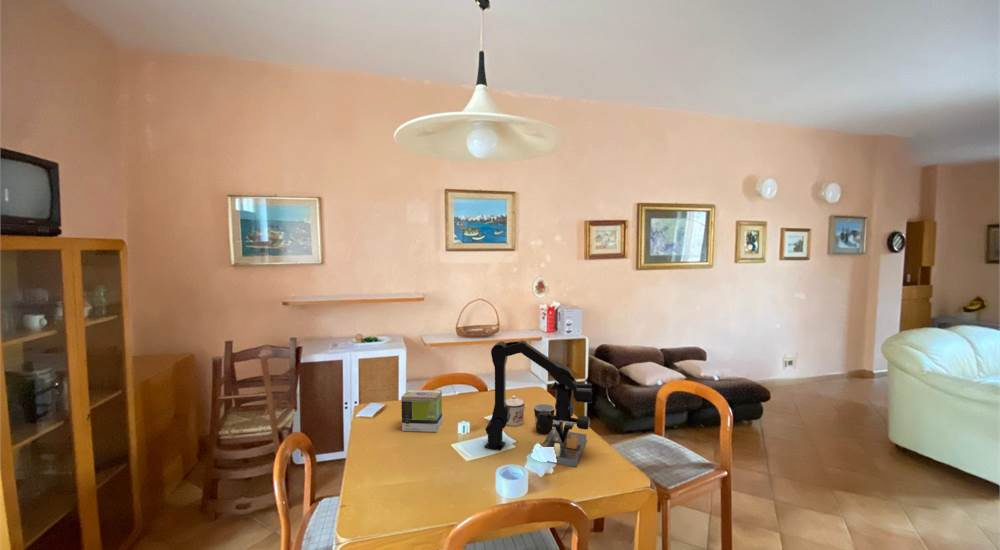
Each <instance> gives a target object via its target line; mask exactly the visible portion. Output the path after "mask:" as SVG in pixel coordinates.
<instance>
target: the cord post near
mask: <svg viewBox="0 0 1000 550" xmlns="http://www.w3.org/2000/svg"><path fill="white" fill-rule="evenodd" d="M554 450H555V454H556V457H559V456H560V444H559V443H555V444H554Z"/></svg>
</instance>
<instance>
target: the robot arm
mask: <svg viewBox="0 0 1000 550" xmlns="http://www.w3.org/2000/svg"><path fill="white" fill-rule="evenodd" d="M490 353H491V354H490V355H491V361H492V363H493V367H494V405H493V410H492V414H491V419H489V420H488V423H487V425H486V427H485V431H486V434H487V442H486V444H485V445H484V446H483V447H484V448H485V449H491V450H495V451H501V449H503V447H504V446H505V445H506V441H504V440H503V439H504V438H503V430H504V429H505V427H506V426H507V425H506V424H507V422H508V421H509V419H510V416H511V415H510V407H511V406H507V404H506V397H507V395H506V385H507V384H506V365H507V362H508V357H510V356H513V355H517V354H522V355H523V356H524V357H526V358H528V359H529V360H530V361H532V362H534V363H535V364H537V366H540V367H541V368H542V369H544V370H546V372H547V373H548V374H549V375H550V376H551V377H552V379H554V380H555V381H554V382H553V383H552V384H551V386H550V389H551V390H555V405H554V407H555V414H554V415H551V412H550V411H543V410H542V411H541V412H540V413H539V414H538V417H537V422H538V423H546V422H547V420H552V421H553V425H552V426H553V427H552V428H555V430H557V432H558V434H559V436H560V439H561V441H562V443H564V442H565V439H566V436H567V433H568V431H569V432H570V430H573V427H574V426H575V425H576V428H578V429H580V430H587V431H588V430H589V428H590V425H591V418H590V416H586V415H578V418H577V417H573V415H574V411H575V409H574V408H575V405H573V403H572V399H573V400H574V401H575V402H576V403H584V404H585V403H587V404H592V403H593V389H592V386H593V385H592V383H590V382H589V383H579V382H577V380H576V379H575V377H574V376H573V372H572V369H571V368H570V366H567V365H566V364H563V363H561V362H558V361H555V360H553V359H552V358H550V357H548V356H547V355H546V354H544V353H542V352H540V350H538V349H537V348H535V347H534V346H533V345H531V344H529V343H528V342H527V341H526V340H523V339H521V340H517V341H508V342H507V341H506V342H505V341H497V342H496V343H495V344H494V345H493V346H492V348H491V350H490ZM572 391H573V394H572ZM572 395H573V396H572ZM572 397H573V398H572ZM564 425H565V426H564Z"/></svg>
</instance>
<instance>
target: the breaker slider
mask: <svg viewBox="0 0 1000 550" xmlns="http://www.w3.org/2000/svg"><path fill="white" fill-rule="evenodd" d="M577 446H578V436H577V435H571V434H569V435H568V437H567V448H572V449H576V448H577Z"/></svg>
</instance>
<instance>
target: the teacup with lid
mask: <svg viewBox="0 0 1000 550" xmlns="http://www.w3.org/2000/svg"><path fill="white" fill-rule="evenodd" d="M506 404H507V406H511V407H510V415H511V416H510V419H509V421H508V422H507V424H506V426H511V427H519V426H521V425H523V424H524V419H525V418H524V413H525V409H526V406H525V402H524V400H522V399H521V398H519V397H517V396H516V395H511V397H509V398H507V399H506Z"/></svg>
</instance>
